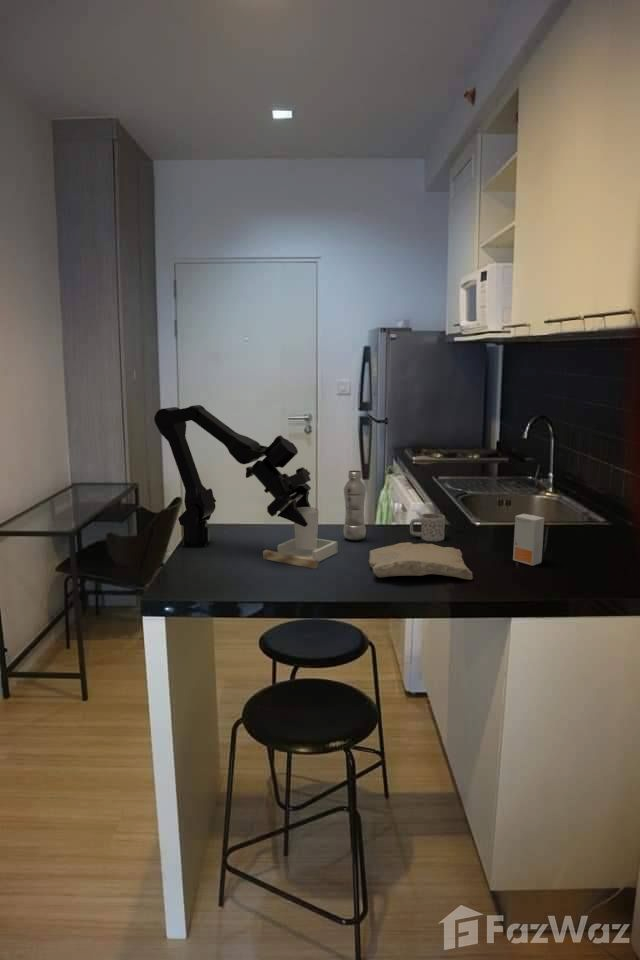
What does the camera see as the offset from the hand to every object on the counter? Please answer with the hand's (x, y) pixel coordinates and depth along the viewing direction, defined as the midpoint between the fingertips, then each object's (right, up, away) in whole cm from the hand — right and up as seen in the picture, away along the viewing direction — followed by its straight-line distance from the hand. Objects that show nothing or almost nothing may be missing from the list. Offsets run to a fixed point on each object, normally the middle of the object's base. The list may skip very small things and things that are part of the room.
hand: (310, 522), depth 176 cm
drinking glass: (-1, -7, +2) cm, 7 cm away
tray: (-1, -9, +2) cm, 9 cm away
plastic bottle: (+12, -6, +16) cm, 21 cm away
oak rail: (-5, -10, -5) cm, 12 cm away
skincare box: (+56, -10, -5) cm, 57 cm away
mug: (+33, -6, +18) cm, 38 cm away
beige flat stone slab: (+27, -12, -12) cm, 32 cm away
